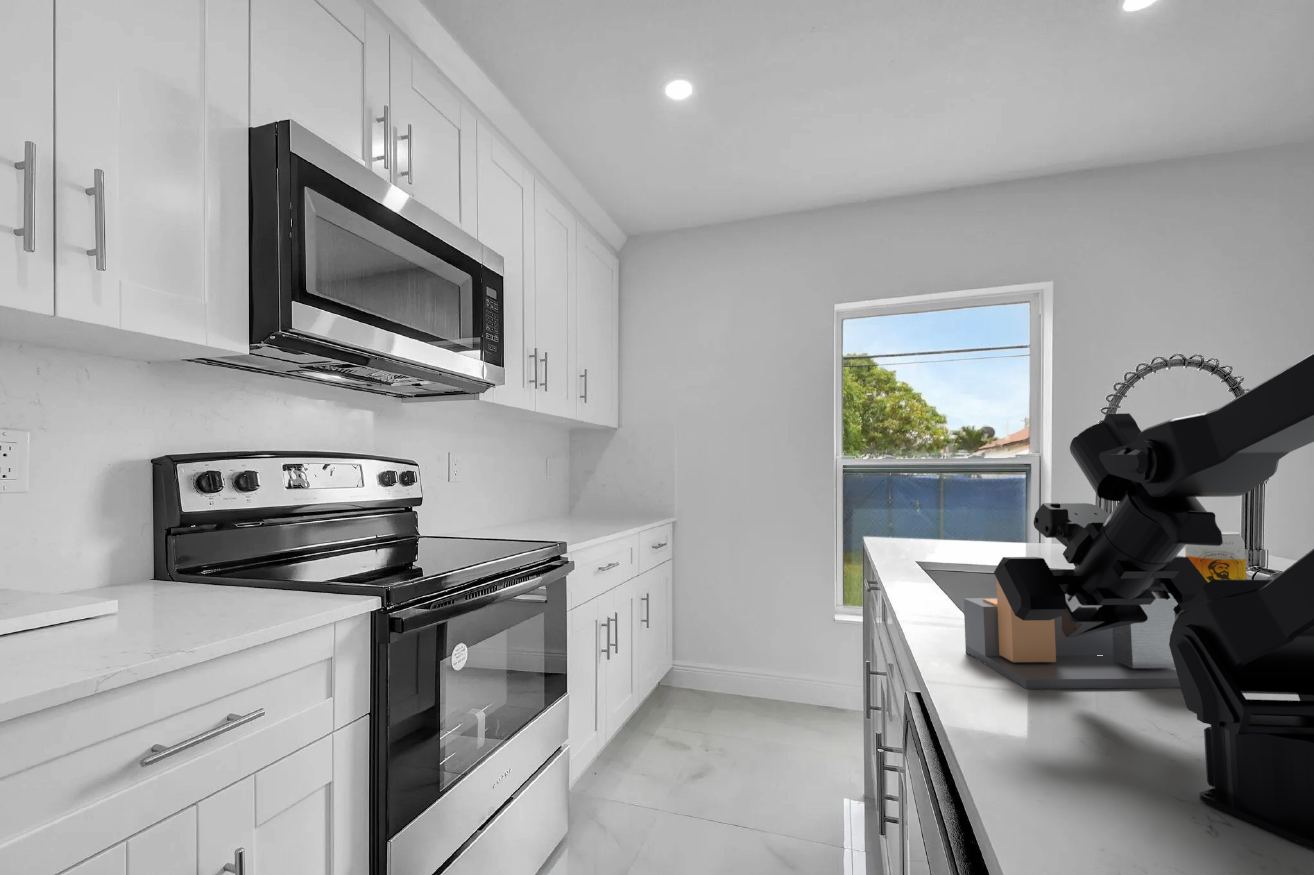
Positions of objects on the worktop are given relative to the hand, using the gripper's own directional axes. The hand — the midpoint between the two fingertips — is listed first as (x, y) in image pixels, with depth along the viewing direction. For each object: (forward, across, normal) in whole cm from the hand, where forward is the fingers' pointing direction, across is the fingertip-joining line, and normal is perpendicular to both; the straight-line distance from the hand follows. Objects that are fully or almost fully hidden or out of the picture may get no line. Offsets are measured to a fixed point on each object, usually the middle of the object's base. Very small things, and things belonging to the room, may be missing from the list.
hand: (1067, 633), depth 67 cm
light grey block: (+7, -12, 0) cm, 14 cm away
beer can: (+17, -32, -8) cm, 37 cm away
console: (+10, -6, -1) cm, 12 cm away
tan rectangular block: (+9, 0, -2) cm, 9 cm away
